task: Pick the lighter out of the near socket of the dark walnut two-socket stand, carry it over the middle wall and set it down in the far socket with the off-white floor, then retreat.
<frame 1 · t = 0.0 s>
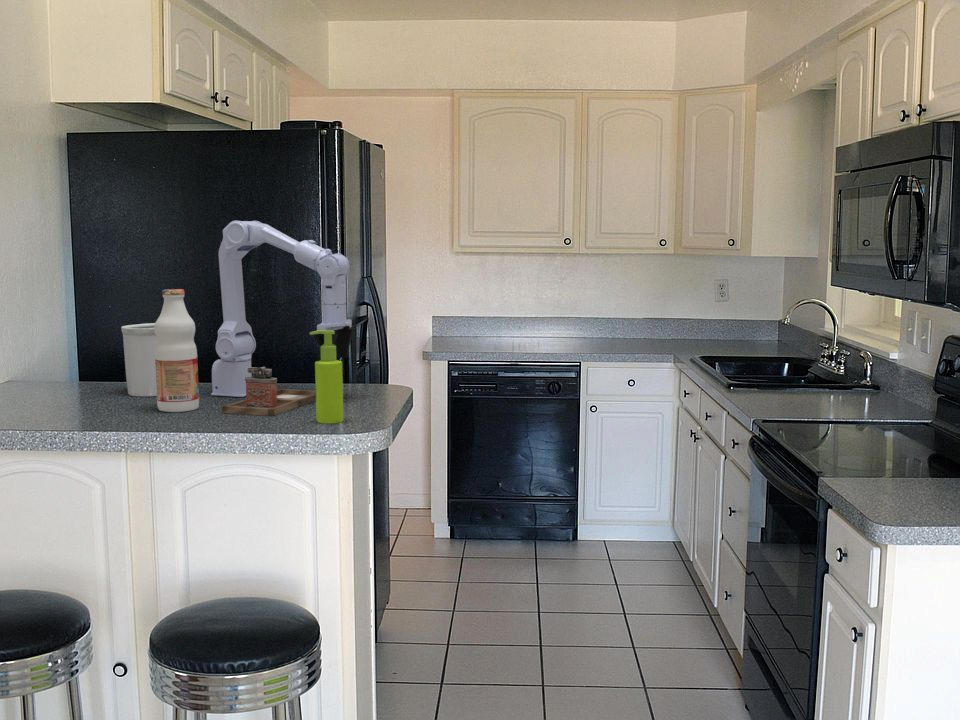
hand: (335, 359, 241), 10 cm above the counter, fingers open, 7 cm apart
utensil holder: (155, 393, 255), on the counter
soap dispenser: (327, 421, 217), on the counter
fruit juice: (178, 409, 231), on the counter
lighter: (261, 410, 230), resting in dock
dock: (276, 404, 237), on the counter
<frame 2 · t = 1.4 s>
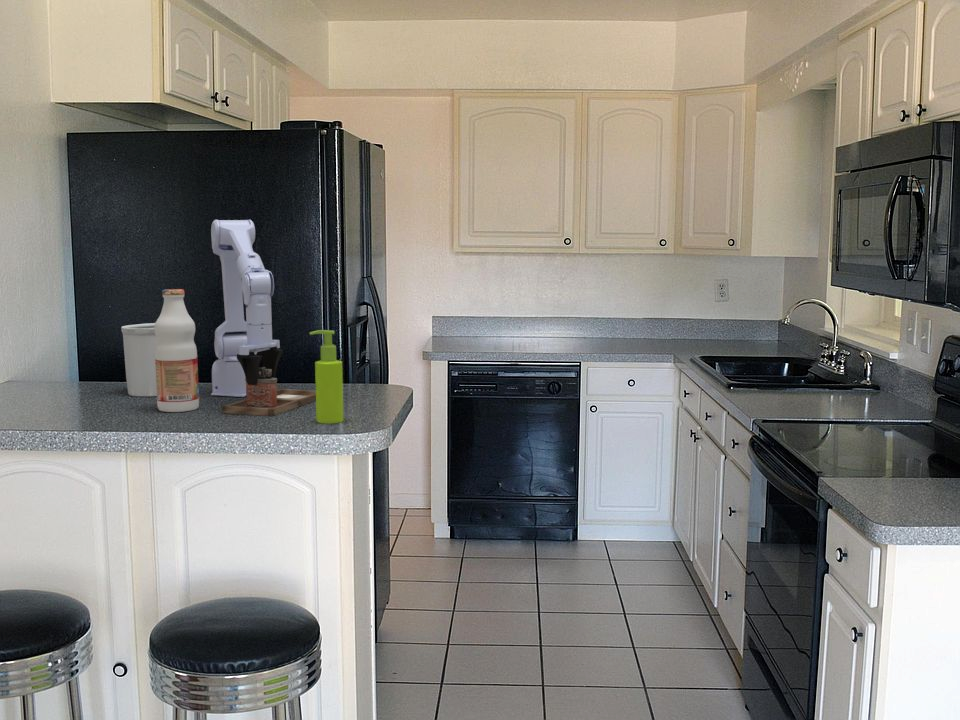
hand: (261, 382, 230), 6 cm above the counter, fingers open, 7 cm apart
nothing on the counter moved.
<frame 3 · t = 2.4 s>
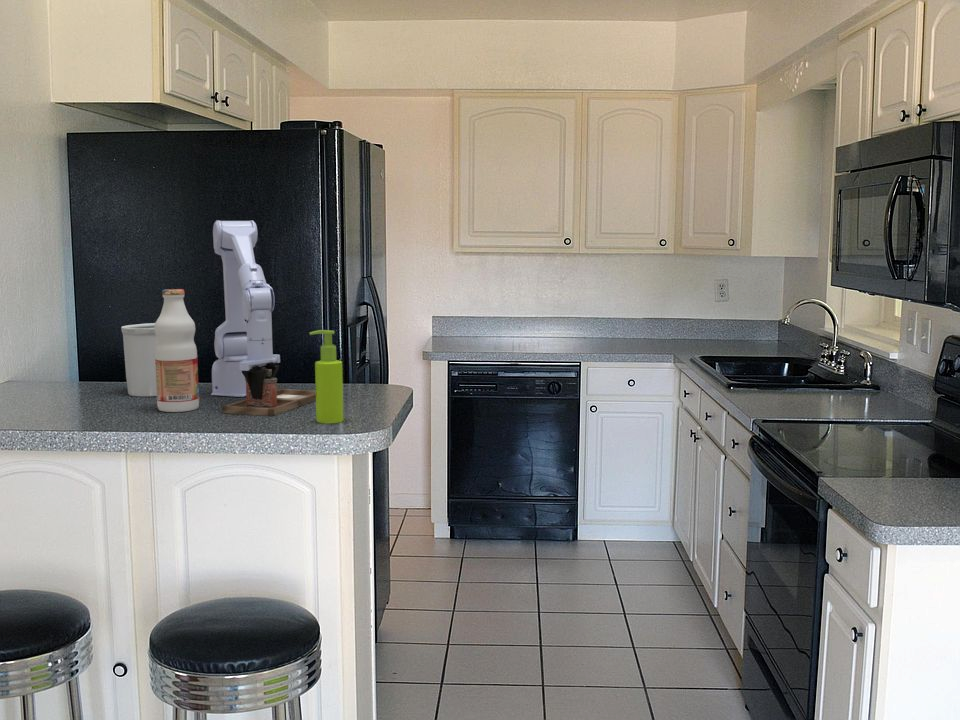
hand: (261, 397, 230), 3 cm above the counter, fingers closed on lighter, 3 cm apart
lighter: (261, 410, 230), resting in dock, touching gripper
everything else where it was.
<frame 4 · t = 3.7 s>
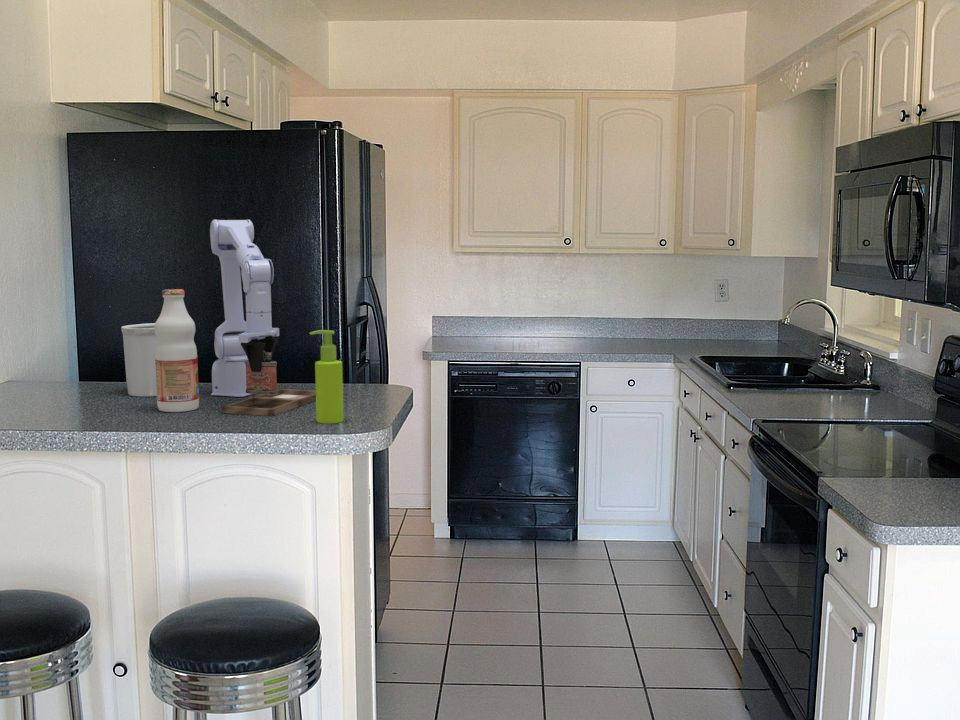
hand: (260, 370, 229), 9 cm above the counter, fingers closed on lighter, 3 cm apart
lighter: (261, 394, 230), point 4 cm above the counter, touching gripper
everything else where it was.
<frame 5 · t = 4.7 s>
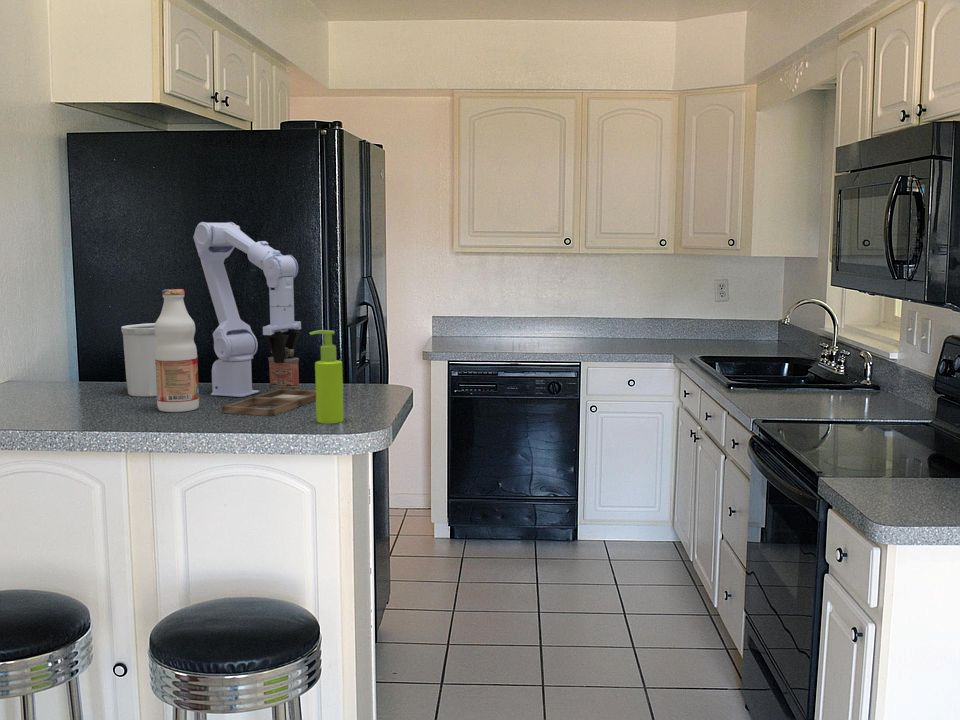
hand: (283, 361, 239), 10 cm above the counter, fingers closed on lighter, 3 cm apart
lighter: (284, 389, 240), point 3 cm above the counter, touching gripper
everything else where it was.
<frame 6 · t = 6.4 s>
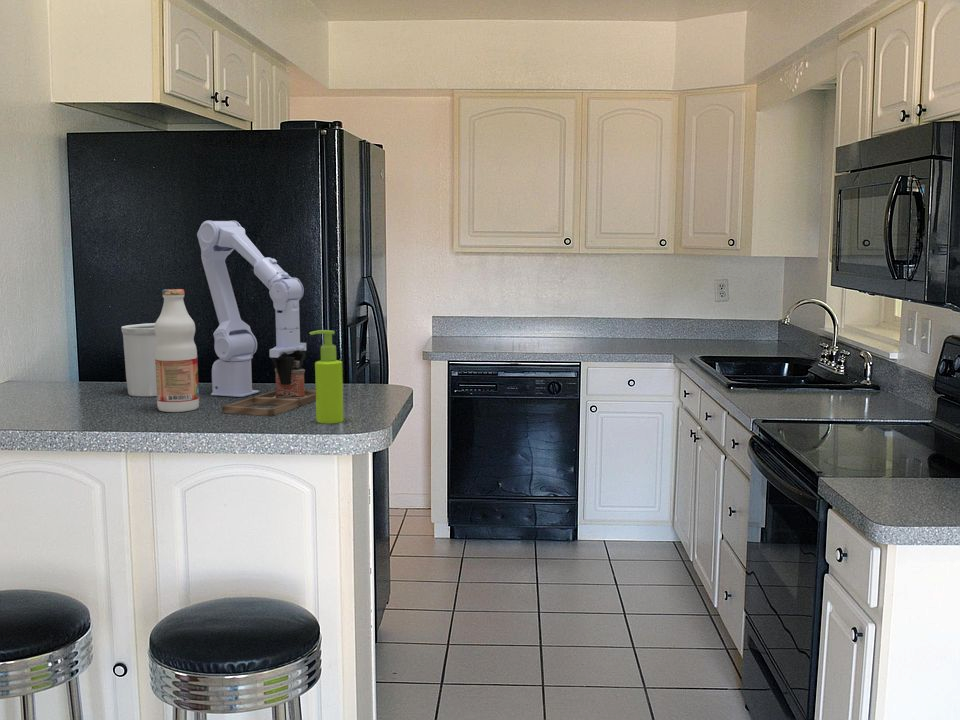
hand: (289, 383, 242), 4 cm above the counter, fingers closed on lighter, 3 cm apart
lighter: (290, 399, 243), resting on dock, touching gripper
everything else where it was.
when the fingers open (4 cm above the counter, at t = 6.7 s): lighter stays where it is, resting on dock.
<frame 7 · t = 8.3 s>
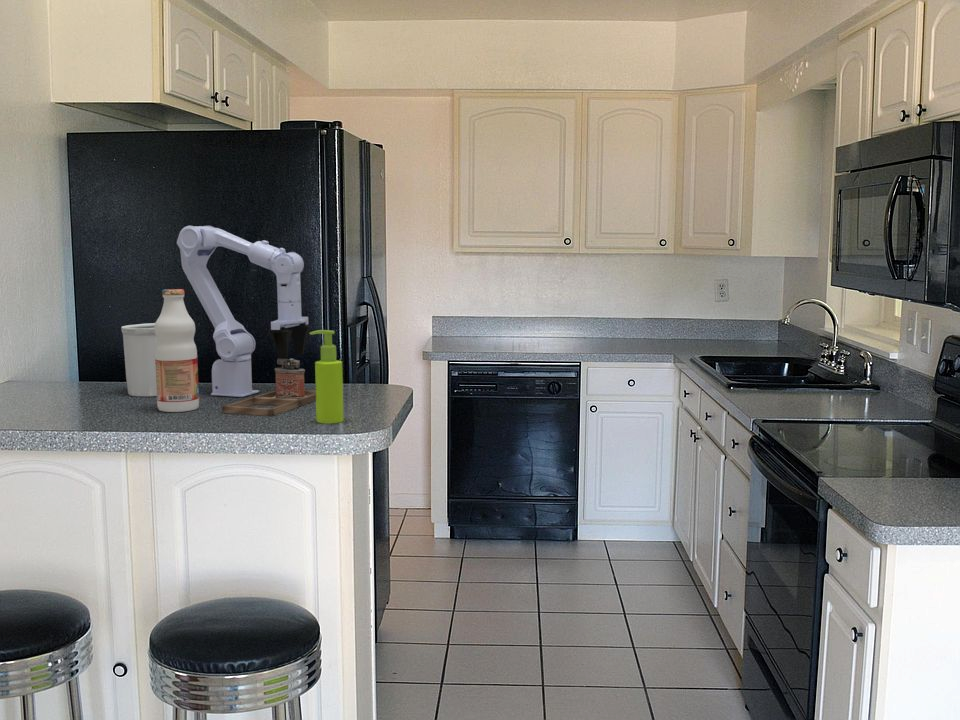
hand: (291, 356, 246), 10 cm above the counter, fingers open, 7 cm apart
lighter: (290, 399, 243), resting on dock
everything else where it was.
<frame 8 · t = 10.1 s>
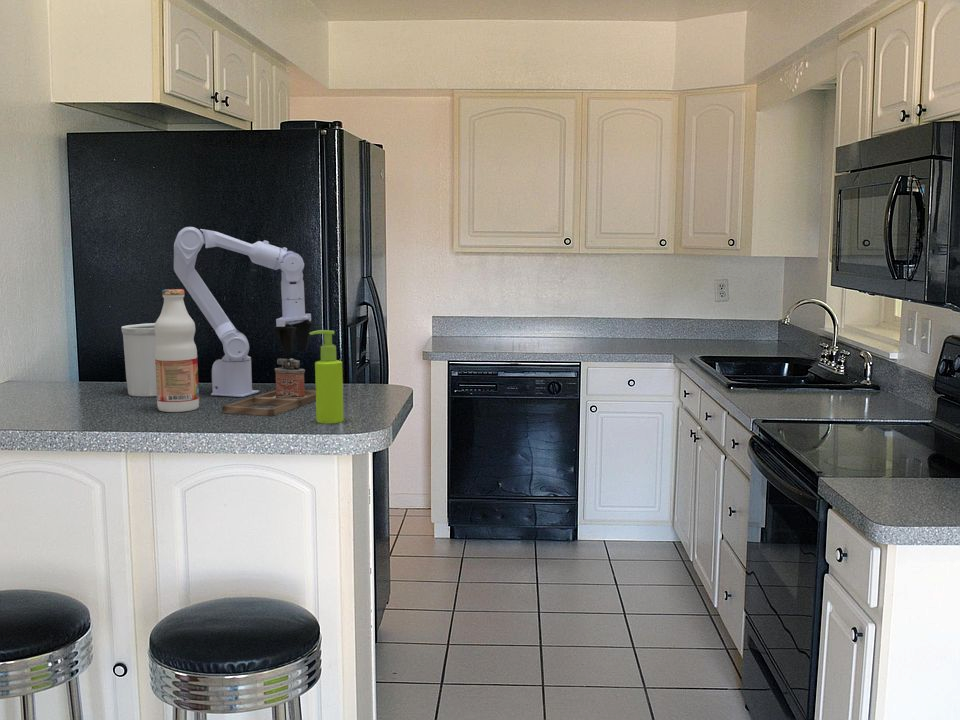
hand: (295, 351, 254), 10 cm above the counter, fingers open, 7 cm apart
nothing on the counter moved.
at the end: lighter inside the target area on the dock (0.2 cm from its centre), point 0.1 cm above the dock's base; lighter tilted 0°; the gripper is holding nothing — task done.
